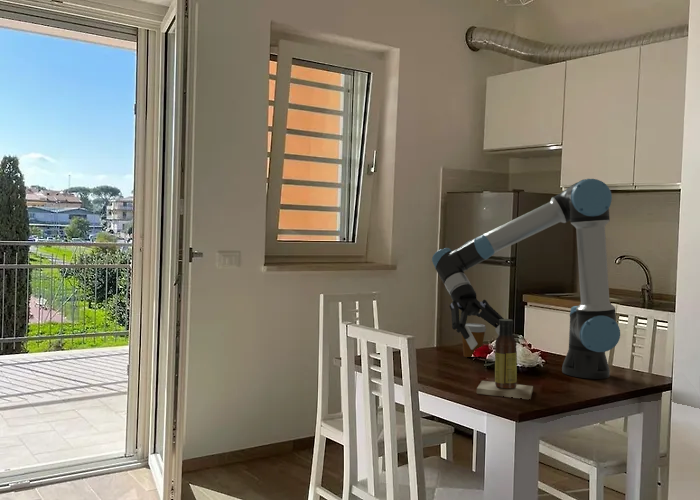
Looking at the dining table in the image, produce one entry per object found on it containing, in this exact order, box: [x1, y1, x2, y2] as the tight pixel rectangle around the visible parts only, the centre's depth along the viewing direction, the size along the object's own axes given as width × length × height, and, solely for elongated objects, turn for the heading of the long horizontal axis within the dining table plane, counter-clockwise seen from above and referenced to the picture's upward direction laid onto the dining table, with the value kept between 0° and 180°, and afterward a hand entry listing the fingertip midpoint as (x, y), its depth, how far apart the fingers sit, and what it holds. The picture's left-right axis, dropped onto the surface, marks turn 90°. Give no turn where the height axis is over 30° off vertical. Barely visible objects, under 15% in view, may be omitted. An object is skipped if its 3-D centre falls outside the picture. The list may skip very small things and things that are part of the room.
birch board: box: [476, 380, 534, 400], centre depth 195 cm, size 15×11×2 cm
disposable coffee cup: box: [461, 322, 487, 358], centre depth 249 cm, size 10×10×12 cm
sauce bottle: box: [494, 318, 518, 389], centre depth 194 cm, size 7×6×20 cm
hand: (491, 345), depth 199 cm, fingers open, 13 cm apart
